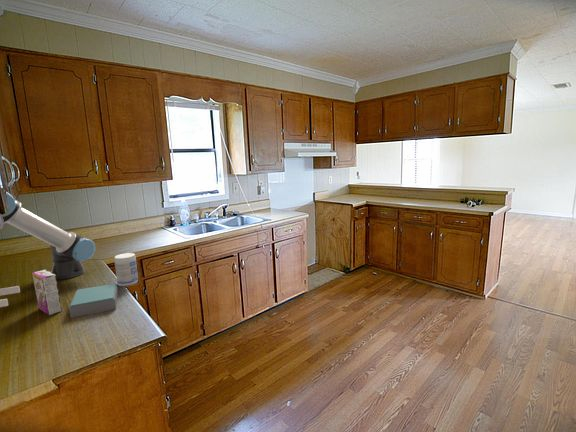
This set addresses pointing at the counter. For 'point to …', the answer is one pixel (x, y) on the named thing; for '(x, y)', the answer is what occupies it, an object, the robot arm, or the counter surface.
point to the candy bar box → (47, 292)
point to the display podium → (94, 300)
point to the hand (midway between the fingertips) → (13, 295)
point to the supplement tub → (126, 269)
